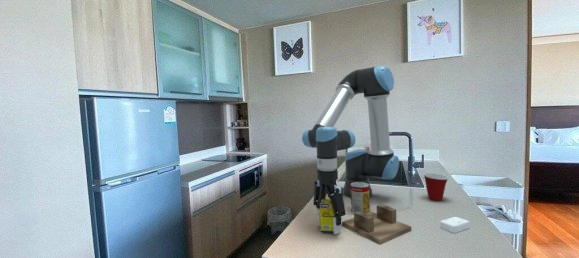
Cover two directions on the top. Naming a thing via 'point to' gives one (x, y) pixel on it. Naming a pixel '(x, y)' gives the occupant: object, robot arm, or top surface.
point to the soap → (454, 224)
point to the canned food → (360, 197)
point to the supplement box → (326, 216)
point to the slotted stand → (377, 224)
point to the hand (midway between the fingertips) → (329, 228)
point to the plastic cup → (435, 185)
